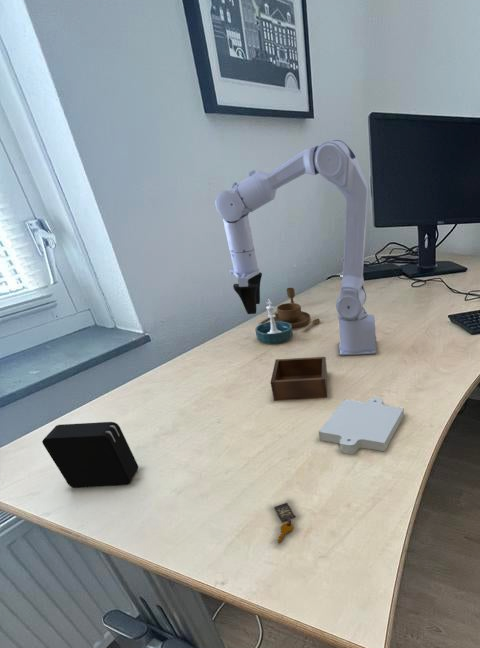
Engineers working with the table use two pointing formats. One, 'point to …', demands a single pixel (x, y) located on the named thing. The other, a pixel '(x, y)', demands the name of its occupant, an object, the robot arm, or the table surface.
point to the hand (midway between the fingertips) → (253, 308)
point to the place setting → (292, 313)
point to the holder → (299, 378)
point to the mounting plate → (362, 425)
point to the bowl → (274, 337)
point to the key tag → (284, 518)
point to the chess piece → (271, 318)
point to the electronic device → (91, 454)
